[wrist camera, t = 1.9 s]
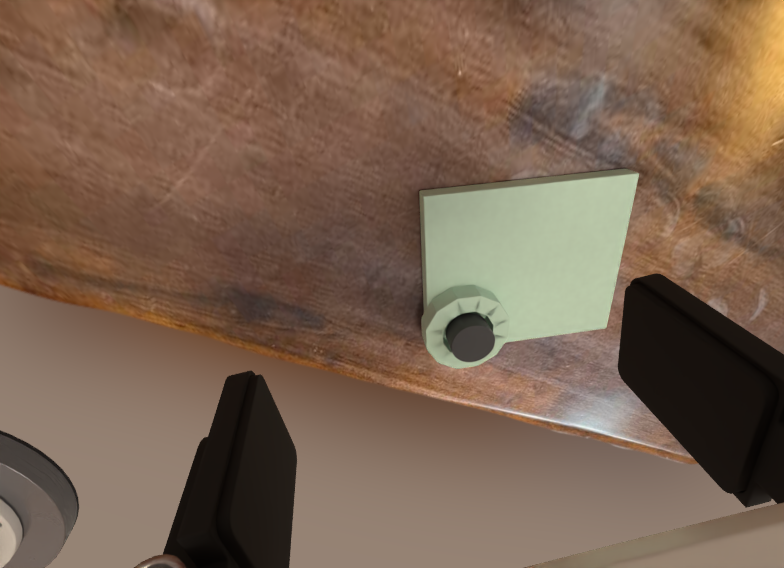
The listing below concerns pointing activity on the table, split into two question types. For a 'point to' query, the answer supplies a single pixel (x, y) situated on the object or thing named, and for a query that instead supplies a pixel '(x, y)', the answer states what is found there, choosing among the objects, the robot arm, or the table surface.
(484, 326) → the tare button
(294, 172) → the table surface
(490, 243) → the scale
